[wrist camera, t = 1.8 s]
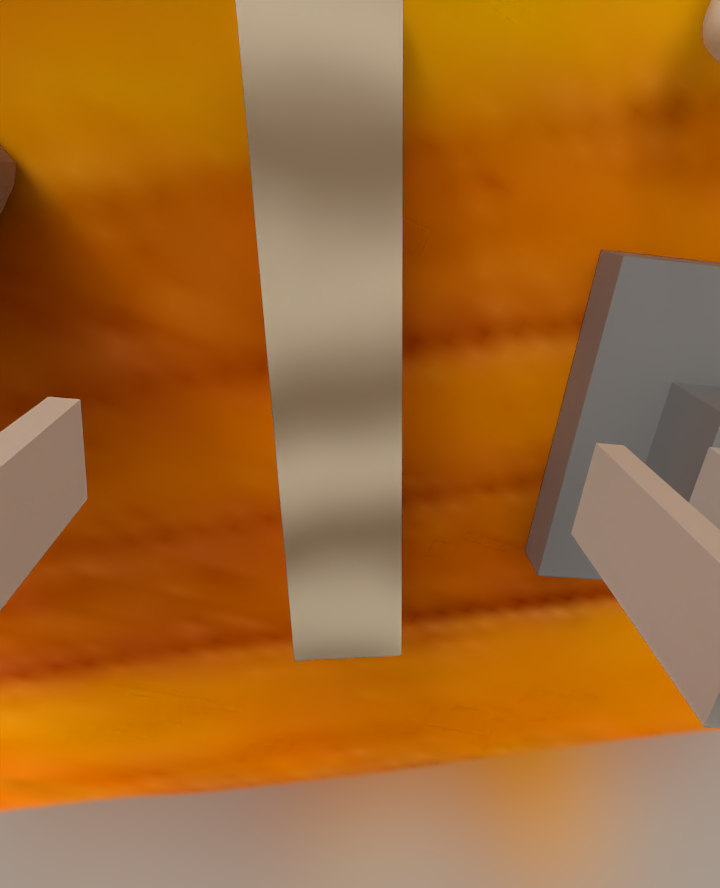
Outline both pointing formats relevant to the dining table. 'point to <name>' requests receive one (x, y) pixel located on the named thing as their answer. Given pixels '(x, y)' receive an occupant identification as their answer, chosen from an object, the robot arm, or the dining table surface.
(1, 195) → the wooden block
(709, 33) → the floral ceramic pitcher
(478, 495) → the dining table surface
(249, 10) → the batten
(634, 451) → the fulcrum
